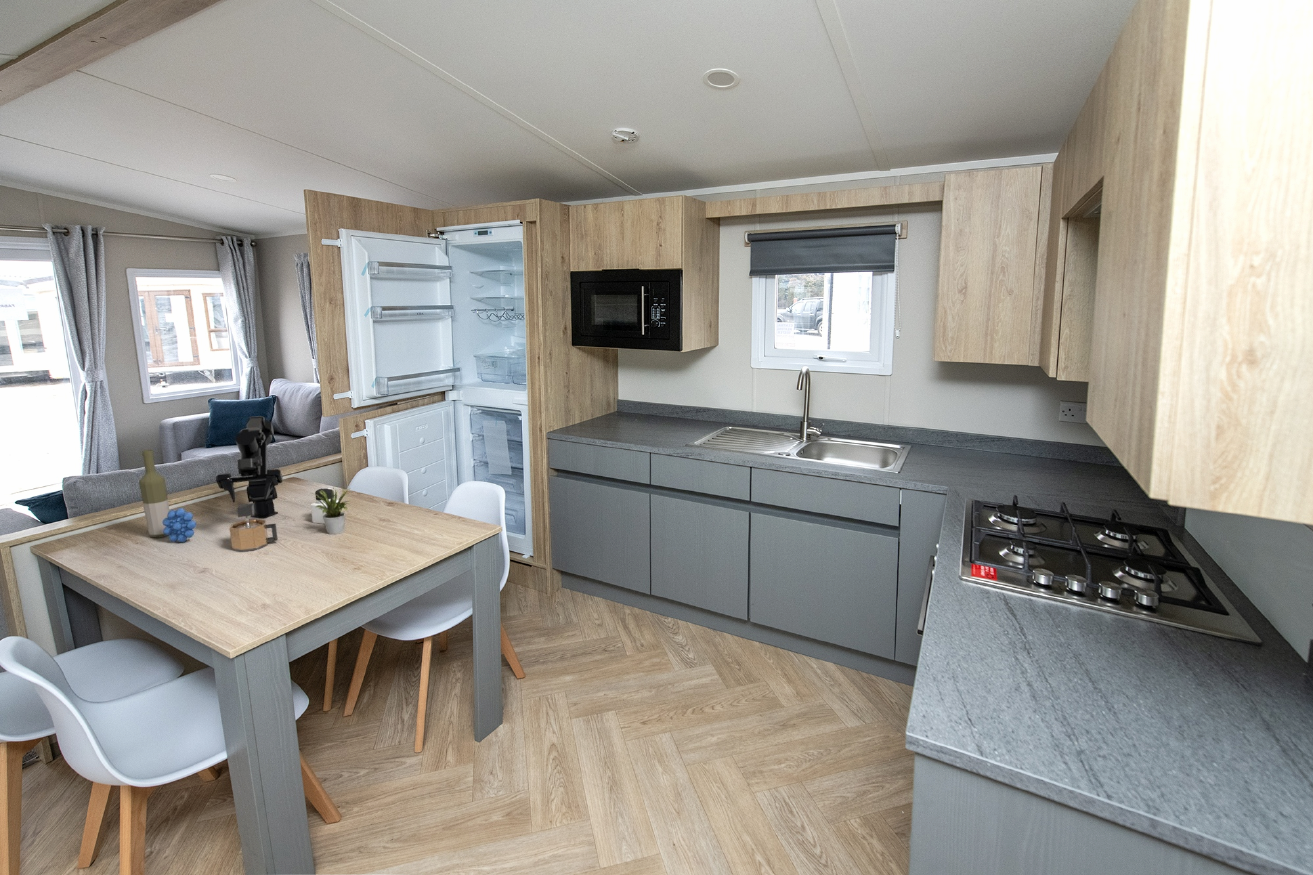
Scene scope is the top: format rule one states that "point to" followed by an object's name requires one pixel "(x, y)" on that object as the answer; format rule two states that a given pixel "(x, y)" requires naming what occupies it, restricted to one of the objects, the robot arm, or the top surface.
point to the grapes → (179, 525)
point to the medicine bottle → (318, 513)
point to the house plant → (333, 513)
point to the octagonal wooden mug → (251, 536)
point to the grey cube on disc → (246, 515)
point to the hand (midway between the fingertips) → (249, 500)
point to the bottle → (153, 496)
